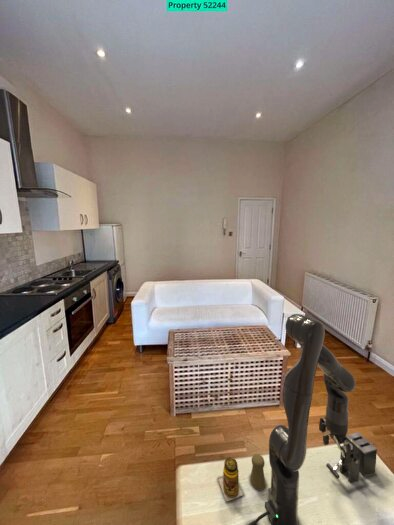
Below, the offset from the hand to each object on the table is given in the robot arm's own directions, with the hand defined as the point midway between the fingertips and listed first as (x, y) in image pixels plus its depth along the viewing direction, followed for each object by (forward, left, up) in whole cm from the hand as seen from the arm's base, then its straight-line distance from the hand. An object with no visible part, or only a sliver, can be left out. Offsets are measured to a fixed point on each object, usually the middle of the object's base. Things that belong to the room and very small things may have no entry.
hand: (334, 453), depth 88 cm
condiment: (-42, +10, -14) cm, 45 cm away
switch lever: (+5, 0, -6) cm, 8 cm away
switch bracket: (+8, 0, -14) cm, 16 cm away
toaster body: (+17, +3, -14) cm, 23 cm away
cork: (-30, +9, -14) cm, 34 cm away
